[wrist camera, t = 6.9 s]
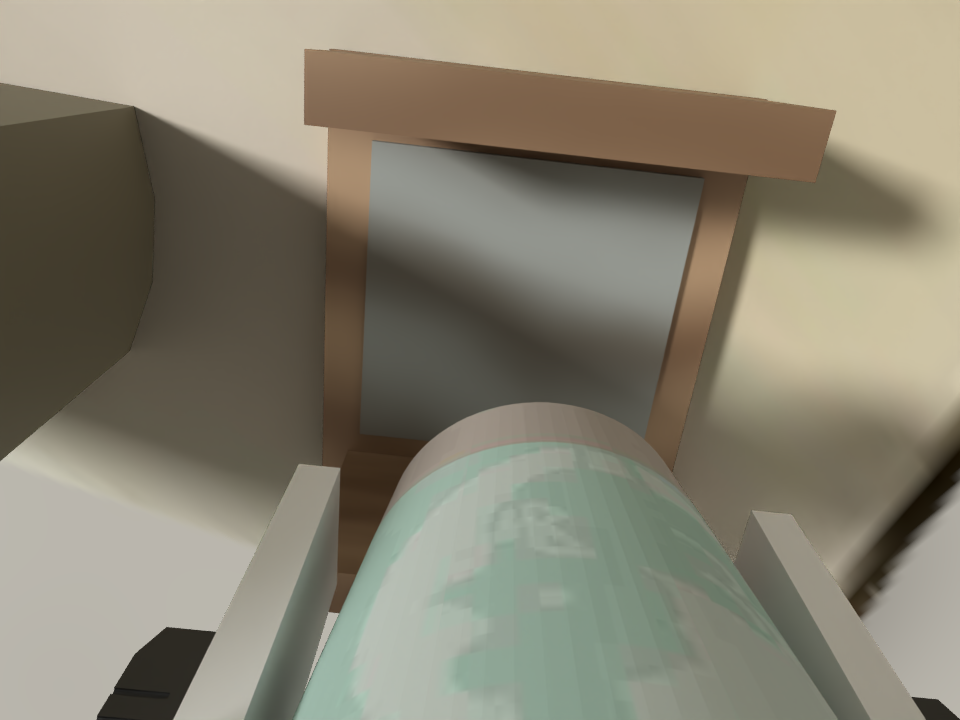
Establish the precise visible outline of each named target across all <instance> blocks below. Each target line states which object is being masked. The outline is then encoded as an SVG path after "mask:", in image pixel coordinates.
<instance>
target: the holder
mask: <svg viewBox="0 0 960 720" xmlns="http://www.w3.org/2000/svg"><path fill="white" fill-rule="evenodd" d="M835 114H836V111H834V110H828V109H821V108H814V107H807V106H800V105H793V104H787V103H780V102H773V101H768V100H766V99H759V98H751V97H743V96H734V95H725V94H717V93H708V92H700V91H691V90H682V89H674V88H665V87H657V86H648V85H639V84H631V83H622V82H614V81H605V80H596V79H588V78H579V77H571V76H562V75H553V74H545V73H536V72H528V71H519V70H510V69H502V68H493V67H485V66H476V65H467V64H459V63H450V62H442V61H433V60H424V59H416V58H407V57H399V56H390V55H381V54H373V53H364V52H356V51H347V50H338V49H330V51H328V50H312V49H305V68H304V125H312V126H321V127H328V168H327V225H326V282H325V339H324V397H323V454H322V466H326V467H336V468H340V495H339V528H338V561H337V586H336V589H335V592H334V595H333V599H332V602H331V605H330V609H329V612H333V613H340V611H341V609H342V606H343V604H344V602H345V600H346V597H347V595H348V593H349V591H350V588H351V586H352V584H353V582H354V579H355V577H356V575H357V573H358V571H359V568H360V566H361V564H362V562H363V559H364V557H365V555H366V553H367V550H368V548H369V546H370V544H371V541H372V539H373V537H374V535H375V533H376V531H377V529H378V526H379V524H380V522H381V520H382V518H383V516H384V513H385V511H386V509H387V507H388V505H389V502H390V500H391V498H392V496H393V494H394V492H395V489H396V487H397V485H398V483H399V481H400V479H401V477H402V475H403V473H404V471H405V470H406V468H407V467H408V465H409V464H410V462H411V461H412V460H413V458H414V457H415V456H416V455H417V454H418V452H419V451H420V450H421V449H422V448H423V447H424V446H425V445H426V444H427V443H428V442H429V441H431V440H432V439H433V438H434V437H436V436H437V435H438V434H439V433H441V432H442V431H444V430H445V429H447V428H448V427H450V426H452V425H453V424H455V423H457V422H459V421H461V420H463V419H465V418H467V417H469V416H472V415H474V414H477V413H479V412H482V411H485V410H488V409H492V408H496V407H500V406H505V405H511V404H518V403H531V402H549V403H559V404H566V405H572V406H577V407H581V408H585V409H589V410H592V411H595V412H598V413H600V414H603V415H605V416H608V417H610V418H612V419H614V420H616V421H618V422H620V423H622V424H623V425H625V426H627V427H628V428H630V429H631V430H633V431H634V432H635V433H637V434H638V435H639V436H641V437H642V438H643V439H644V440H645V441H646V442H647V443H648V444H650V445H651V447H652V448H653V449H654V450H655V451H656V452H657V453H658V454H659V456H660V457H661V458H662V459H663V461H664V462H665V464H666V465H667V467H668V468H669V469H670V471H671V472H672V471H673V467H674V463H675V459H676V455H677V452H678V448H679V444H680V440H681V436H682V432H683V428H684V424H685V420H686V416H687V413H688V409H689V405H690V401H691V397H692V393H693V389H694V385H695V381H696V378H697V374H698V370H699V366H700V362H701V358H702V354H703V350H704V346H705V343H706V339H707V335H708V331H709V327H710V323H711V319H712V315H713V311H714V307H715V304H716V300H717V296H718V292H719V288H720V284H721V280H722V276H723V272H724V269H725V265H726V261H727V257H728V253H729V249H730V245H731V241H732V237H733V234H734V230H735V226H736V222H737V218H738V214H739V210H740V206H741V202H742V198H743V195H744V191H745V187H746V183H747V179H748V175H752V176H761V177H769V178H778V179H787V180H796V181H805V182H813V183H815V182H816V178H817V175H818V172H819V168H820V165H821V161H822V158H823V155H824V151H825V148H826V145H827V141H828V138H829V134H830V131H831V128H832V124H833V121H834V118H835Z"/></svg>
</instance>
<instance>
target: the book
mask: <svg viewBox="0 0 960 720" xmlns="http://www.w3.org/2000/svg"><path fill="white" fill-rule="evenodd" d="M154 214H155V199H154V194H153V190H152V185H151V181H150V176H149V172H148V167H147V163H146V158H145V154H144V149H143V145H142V140H141V136H140V131H139V127H138V122H137V118H136V113H135V109H134V106H129V105H123V104H117V103H112V102H106V101H100V100H94V99H89V98H83V97H77V96H72V95H66V94H60V93H55V92H49V91H43V90H38V89H32V88H26V87H21V86H15V85H9V84H3V83H0V461H1V460H2V459H3V458H4V457H6V456H7V455H8V454H9V453H10V452H11V451H13V450H14V449H15V448H16V447H17V446H19V445H20V444H21V443H22V442H23V441H24V440H26V439H27V438H28V437H29V436H30V435H31V434H33V433H34V432H35V431H36V430H37V429H38V428H40V427H41V426H42V425H43V424H44V423H46V422H47V421H48V420H49V419H50V418H51V417H53V416H54V415H55V414H56V413H57V412H58V411H60V410H61V409H62V408H63V407H64V406H65V405H67V404H68V403H69V402H70V401H71V400H73V399H74V398H75V397H76V396H77V395H78V394H80V393H81V392H82V391H83V390H84V389H85V388H87V387H88V386H89V385H90V384H91V383H93V382H94V381H95V380H96V379H97V378H98V377H100V376H101V375H102V374H103V373H104V372H105V371H107V370H108V369H109V368H110V367H111V366H112V365H114V364H115V363H116V362H117V361H118V360H120V359H121V358H122V357H123V356H124V355H125V354H127V353H128V352H129V351H130V348H131V345H132V342H133V339H134V336H135V333H136V330H137V327H138V324H139V321H140V318H141V315H142V312H143V308H144V305H145V302H146V299H147V296H148V293H149V290H150V287H151V284H152V278H153V246H154Z"/></svg>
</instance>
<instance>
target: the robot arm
mask: <svg viewBox="0 0 960 720" xmlns="http://www.w3.org/2000/svg"><path fill="white" fill-rule="evenodd" d="M339 495H340V468H336V467H326V466H316V465H306V464H299V465H298V467H297V469H296V471H295V473H294V475H293V477H292V479H291V481H290V483H289V485H288V487H287V489H286V491H285V493H284V495H283V497H282V499H281V501H280V503H279V505H278V507H277V509H276V511H275V513H274V515H273V517H272V520H271V522H270V524H269V526H268V528H267V530H266V532H265V534H264V536H263V538H262V540H261V542H260V544H259V546H258V548H257V550H256V552H255V554H254V557H253V558H252V560H251V562H250V564H249V567H248V568H247V570H246V572H245V575H244V577H243V579H242V581H241V583H240V585H239V587H238V589H237V591H236V593H235V595H234V597H233V599H232V601H231V603H230V605H229V607H228V609H227V611H226V613H225V615H224V618H223V620H222V621H221V623H220V625H219V628H218V630H217V632H211V631H201V630H191V629H181V628H169V627H166V628H165V629H164V630H163V631H161V632H160V633H159V634H158V635H157V636H156V637H154V638H153V639H152V640H151V641H150V642H149V643H147V644H146V645H145V646H144V647H143V648H141V649H140V650H139V651H138V652H137V653H136V654H135V655H134V656H133V658H132V660H131V661H130V663H129V665H128V666H127V668H126V669H125V671H124V673H123V674H122V676H121V678H120V679H119V681H118V683H117V684H116V686H115V687H114V692H113V694H110V696H109V697H108V699H107V701H106V702H105V704H104V705H103V707H102V709H101V710H100V712H99V714H98V715H97V720H292V718H293V716H294V714H295V711H296V709H297V707H298V705H299V702H300V700H301V698H302V696H303V694H304V691H305V687H306V684H307V681H308V678H309V674H310V671H311V668H312V664H313V661H314V657H315V655H316V651H317V648H318V645H319V641H320V638H321V635H322V631H323V628H324V625H325V621H326V618H327V615H328V612H329V609H330V605H331V602H332V599H333V595H334V592H335V589H336V586H337V561H338V528H339ZM734 565H735V567H736V568H737V570H738V571H739V573H740V574H741V576H742V577H743V578H744V580H745V581H746V583H747V584H748V586H749V587H750V589H751V590H752V592H753V593H754V595H755V596H756V598H757V599H758V601H759V602H760V604H761V605H762V607H763V608H764V610H765V611H766V613H767V614H768V616H769V617H770V619H771V620H772V622H773V623H774V625H775V626H776V628H777V629H778V631H779V632H780V634H781V635H782V637H783V638H784V640H785V641H786V643H787V644H788V646H789V647H790V649H791V650H792V652H793V653H794V655H795V656H796V657H797V659H798V660H799V662H800V663H801V665H802V666H803V668H804V669H805V671H806V672H807V674H808V675H809V677H810V678H811V680H812V681H813V683H814V684H815V686H816V687H817V689H818V690H819V692H820V693H821V695H822V696H823V698H824V699H825V701H826V702H827V704H828V705H829V707H830V708H831V710H832V711H833V713H834V714H835V716H836V717H837V719H838V720H960V719H959V718H958V717H957V716H956V715H955V714H953V713H952V712H951V711H950V710H949V709H948V708H947V707H946V706H944V705H943V704H942V703H941V702H940V701H939V700H937V699H926V698H916V697H911V696H910V695H909V693H908V692H907V690H906V688H905V687H904V686H903V684H902V682H901V681H900V679H899V678H898V676H897V675H896V673H895V672H894V670H893V669H892V667H891V665H890V664H889V662H888V661H887V659H886V658H885V656H884V655H883V653H882V652H881V650H880V649H879V647H878V646H877V644H876V643H875V641H874V639H873V638H872V637H871V635H870V633H869V632H868V630H867V629H866V627H865V626H864V624H863V623H862V621H861V620H860V618H859V617H858V615H857V613H856V612H855V610H854V609H853V607H852V606H851V604H850V603H849V601H848V600H847V598H846V597H845V595H844V594H843V592H842V591H841V589H840V587H839V586H838V584H837V583H836V581H835V580H834V578H833V577H832V575H831V574H830V572H829V571H828V569H827V568H826V566H825V565H824V563H823V561H822V560H821V558H820V557H819V555H818V554H817V552H816V551H815V549H814V548H813V546H812V545H811V543H810V542H809V540H808V539H807V537H806V536H805V534H804V532H803V531H802V529H801V528H800V526H799V525H798V523H797V522H796V520H795V519H794V517H793V516H792V514H785V513H775V512H765V511H756V510H751V513H750V516H749V519H748V522H747V525H746V528H745V532H744V535H743V538H742V541H741V544H740V547H739V551H738V554H737V557H736V560H735V563H734Z"/></svg>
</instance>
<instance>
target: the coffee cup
mask: <svg viewBox="0 0 960 720" xmlns="http://www.w3.org/2000/svg"><path fill="white" fill-rule="evenodd" d="M292 720H838V719H837V717H836V716H835V714H834V713H833V711H832V710H831V708H830V707H829V705H828V704H827V702H826V701H825V699H824V698H823V696H822V695H821V693H820V692H819V690H818V689H817V687H816V686H815V684H814V683H813V681H812V680H811V678H810V677H809V675H808V674H807V672H806V671H805V669H804V668H803V666H802V665H801V663H800V662H799V660H798V659H797V657H796V656H795V655H794V653H793V652H792V650H791V649H790V647H789V646H788V644H787V643H786V641H785V640H784V638H783V637H782V635H781V634H780V632H779V631H778V629H777V628H776V626H775V625H774V623H773V622H772V620H771V619H770V617H769V616H768V614H767V613H766V611H765V610H764V608H763V607H762V605H761V604H760V602H759V601H758V599H757V598H756V596H755V595H754V593H753V592H752V590H751V589H750V587H749V586H748V584H747V583H746V581H745V580H744V578H743V577H742V576H741V574H740V573H739V571H738V570H737V568H736V567H735V565H734V564H733V562H732V561H731V559H730V558H729V556H728V555H727V553H726V552H725V550H724V549H723V547H722V546H721V544H720V543H719V541H718V540H717V538H716V537H715V535H714V534H713V532H712V531H711V529H710V528H709V526H708V525H707V523H706V522H705V520H704V519H703V517H702V516H701V514H700V513H699V512H698V510H697V509H696V507H695V506H694V504H693V503H692V502H691V500H690V499H689V497H688V496H687V494H686V493H685V491H684V490H683V488H682V487H681V485H680V484H679V483H678V481H677V480H676V478H675V477H674V475H673V474H672V472H671V471H670V469H669V468H668V467H667V465H666V464H665V462H664V461H663V459H662V458H661V457H660V456H659V454H658V453H657V452H656V451H655V450H654V449H653V448H652V447H651V445H650V444H648V443H647V442H646V441H645V440H644V439H643V438H642V437H641V436H639V435H638V434H637V433H635V432H634V431H633V430H631V429H630V428H628V427H627V426H625V425H623V424H622V423H620V422H618V421H616V420H614V419H612V418H610V417H608V416H605V415H603V414H600V413H598V412H595V411H592V410H589V409H585V408H581V407H577V406H572V405H566V404H559V403H549V402H531V403H518V404H511V405H505V406H500V407H496V408H492V409H488V410H485V411H482V412H479V413H477V414H474V415H472V416H469V417H467V418H465V419H463V420H461V421H459V422H457V423H455V424H453V425H452V426H450V427H448V428H447V429H445V430H444V431H442V432H441V433H439V434H438V435H437V436H436V437H434V438H433V439H432V440H431V441H429V442H428V443H427V444H426V445H425V446H424V447H423V448H422V449H421V450H420V451H419V452H418V454H417V455H416V456H415V457H414V458H413V460H412V461H411V462H410V464H409V465H408V467H407V468H406V470H405V471H404V473H403V475H402V477H401V479H400V481H399V483H398V485H397V487H396V489H395V492H394V494H393V496H392V498H391V500H390V502H389V505H388V507H387V509H386V511H385V513H384V516H383V518H382V520H381V522H380V524H379V526H378V529H377V531H376V533H375V535H374V537H373V539H372V541H371V544H370V546H369V548H368V550H367V553H366V555H365V557H364V559H363V562H362V564H361V566H360V568H359V571H358V573H357V575H356V577H355V579H354V582H353V584H352V586H351V588H350V591H349V593H348V595H347V597H346V600H345V602H344V604H343V606H342V609H341V611H340V613H339V615H338V617H337V620H336V622H335V624H334V626H333V629H332V631H331V633H330V635H329V638H328V640H327V642H326V645H325V647H324V649H323V651H322V653H321V656H320V658H319V660H318V662H317V665H316V667H315V669H314V671H313V673H312V676H311V678H310V680H309V682H308V685H307V687H306V689H305V691H304V694H303V696H302V698H301V700H300V702H299V705H298V707H297V709H296V711H295V714H294V716H293V718H292Z"/></svg>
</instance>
